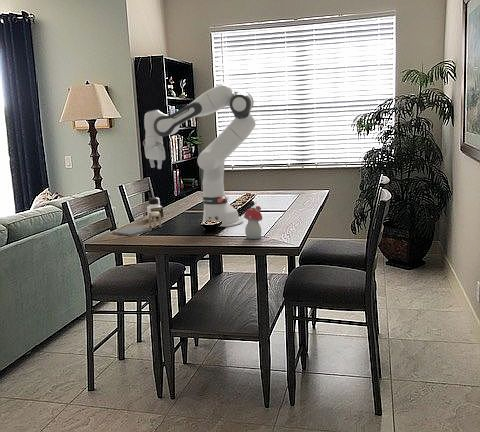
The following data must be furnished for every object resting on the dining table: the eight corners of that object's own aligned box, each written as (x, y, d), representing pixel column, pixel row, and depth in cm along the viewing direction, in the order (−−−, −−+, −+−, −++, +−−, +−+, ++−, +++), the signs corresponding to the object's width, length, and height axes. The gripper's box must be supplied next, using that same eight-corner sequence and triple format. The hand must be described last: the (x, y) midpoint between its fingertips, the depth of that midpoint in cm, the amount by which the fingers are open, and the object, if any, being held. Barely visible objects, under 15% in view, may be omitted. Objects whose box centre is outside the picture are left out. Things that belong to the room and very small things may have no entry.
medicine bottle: (151, 220, 309) (149, 199, 307) (147, 218, 316) (145, 198, 313) (163, 218, 313) (162, 197, 310) (159, 217, 319) (157, 196, 317)
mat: (151, 230, 283) (151, 228, 283) (130, 236, 272) (130, 234, 272) (133, 228, 292) (133, 226, 292) (112, 233, 281) (112, 231, 281)
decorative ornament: (266, 238, 251) (264, 205, 248) (254, 240, 247) (252, 207, 244) (253, 235, 258) (251, 203, 256) (242, 237, 255) (240, 205, 252)
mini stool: (162, 226, 290) (161, 211, 289) (155, 228, 286) (153, 213, 285) (155, 225, 294) (154, 211, 292) (147, 228, 290) (146, 213, 288)
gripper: (167, 141, 281) (169, 169, 284) (153, 140, 299) (154, 166, 302) (155, 142, 278) (157, 170, 281) (141, 141, 296) (143, 167, 299)
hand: (156, 168), depth 291 cm, fingers open, 8 cm apart
